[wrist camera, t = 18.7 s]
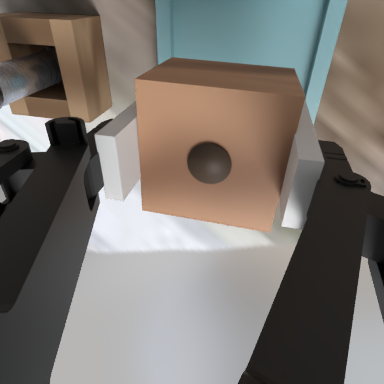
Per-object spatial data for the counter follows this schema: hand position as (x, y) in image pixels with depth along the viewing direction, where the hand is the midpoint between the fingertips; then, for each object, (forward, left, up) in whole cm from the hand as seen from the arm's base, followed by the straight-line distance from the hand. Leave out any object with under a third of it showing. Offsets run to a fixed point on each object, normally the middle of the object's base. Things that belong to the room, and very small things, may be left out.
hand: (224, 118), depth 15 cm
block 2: (0, 0, 0) cm, 1 cm away
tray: (0, 0, -9) cm, 9 cm away
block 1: (0, -15, -9) cm, 17 cm away
